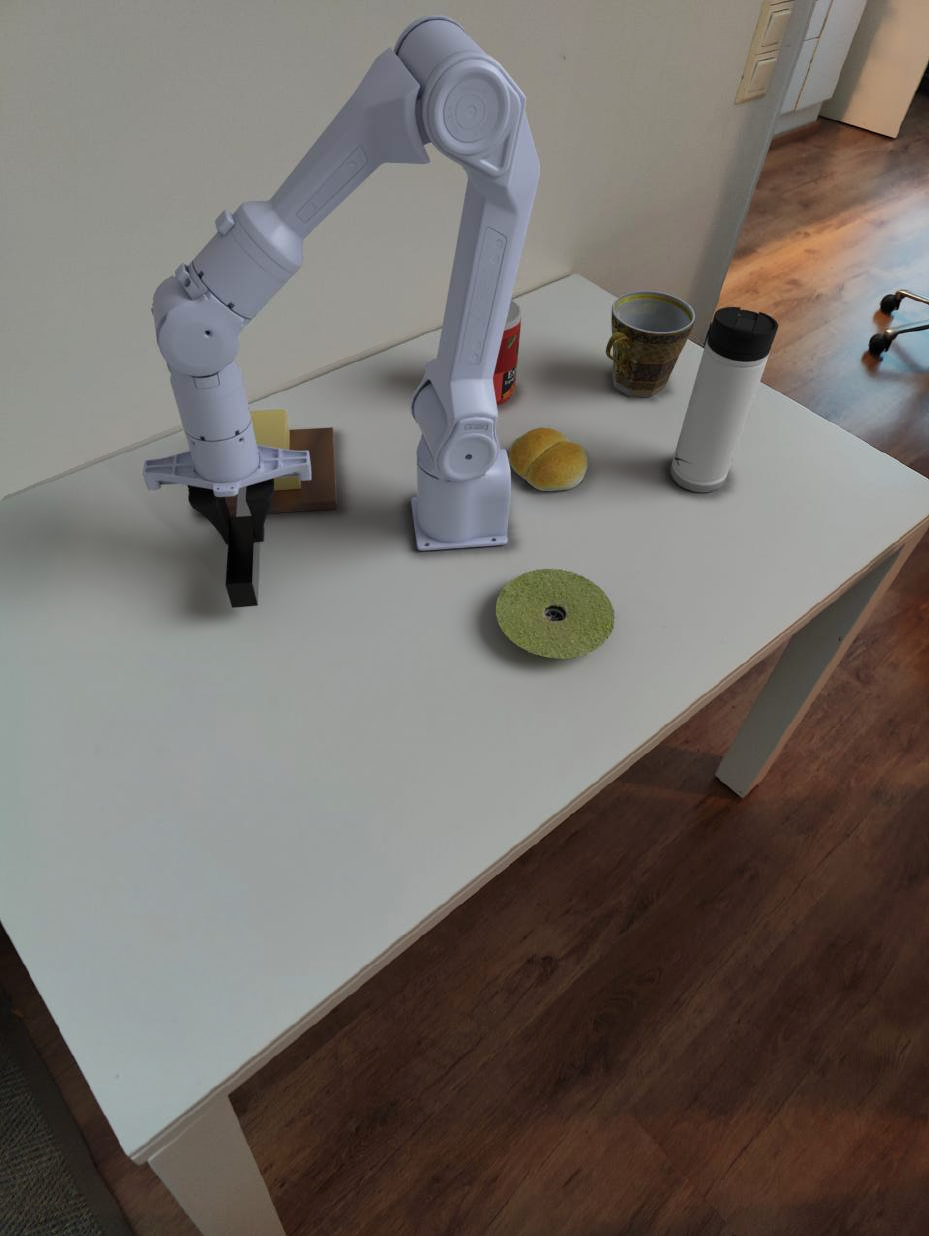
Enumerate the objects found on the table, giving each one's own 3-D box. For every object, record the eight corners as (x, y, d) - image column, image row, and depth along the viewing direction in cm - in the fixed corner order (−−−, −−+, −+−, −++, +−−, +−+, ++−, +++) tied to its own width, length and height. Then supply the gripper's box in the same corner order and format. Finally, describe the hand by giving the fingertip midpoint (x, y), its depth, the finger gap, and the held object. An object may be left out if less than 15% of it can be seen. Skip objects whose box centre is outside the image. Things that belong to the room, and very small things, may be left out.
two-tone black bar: (258, 606, 77) (252, 582, 74) (231, 608, 76) (225, 585, 74) (262, 473, 89) (257, 450, 86) (239, 475, 88) (233, 451, 86)
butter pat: (300, 476, 90) (297, 452, 88) (300, 489, 89) (297, 465, 86) (263, 478, 90) (259, 455, 87) (263, 491, 88) (258, 468, 86)
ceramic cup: (632, 353, 111) (647, 282, 103) (692, 386, 106) (712, 314, 98) (567, 389, 105) (578, 316, 97) (627, 425, 100) (643, 352, 92)
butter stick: (289, 431, 95) (285, 408, 93) (289, 476, 90) (285, 453, 88) (254, 433, 95) (249, 410, 92) (252, 478, 90) (247, 455, 87)
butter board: (333, 435, 97) (332, 427, 96) (337, 509, 89) (336, 500, 88) (212, 442, 95) (210, 433, 95) (204, 517, 87) (202, 509, 86)
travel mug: (663, 486, 93) (708, 323, 78) (676, 452, 97) (721, 291, 82) (718, 501, 91) (775, 338, 76) (729, 466, 95) (785, 305, 80)
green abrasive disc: (470, 628, 78) (471, 614, 77) (540, 565, 84) (542, 551, 83) (566, 691, 74) (569, 678, 72) (633, 620, 80) (637, 607, 78)
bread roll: (551, 505, 90) (555, 476, 87) (496, 464, 94) (498, 435, 91) (602, 474, 94) (608, 446, 91) (547, 436, 98) (551, 408, 95)
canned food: (515, 409, 101) (522, 328, 93) (450, 407, 101) (452, 325, 93) (513, 374, 106) (520, 293, 98) (452, 372, 106) (454, 291, 98)
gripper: (123, 455, 67) (164, 571, 77) (303, 445, 68) (320, 559, 79) (134, 404, 71) (171, 520, 82) (302, 395, 73) (319, 510, 83)
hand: (244, 536), depth 80 cm, fingers closed on two-tone black bar, 2 cm apart
